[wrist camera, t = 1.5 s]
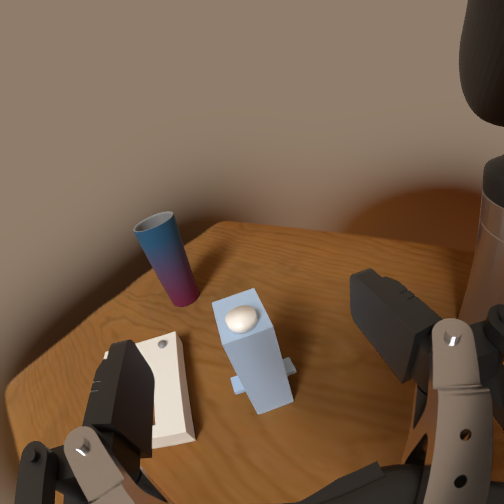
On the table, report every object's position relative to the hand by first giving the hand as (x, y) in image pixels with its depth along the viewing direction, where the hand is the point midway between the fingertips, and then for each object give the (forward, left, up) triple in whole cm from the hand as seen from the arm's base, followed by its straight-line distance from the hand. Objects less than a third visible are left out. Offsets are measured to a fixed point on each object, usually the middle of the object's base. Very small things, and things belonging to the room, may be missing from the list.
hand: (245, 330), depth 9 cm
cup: (-16, -31, -20) cm, 40 cm away
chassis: (+2, -21, -20) cm, 29 cm away
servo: (-7, -8, -20) cm, 22 cm away
